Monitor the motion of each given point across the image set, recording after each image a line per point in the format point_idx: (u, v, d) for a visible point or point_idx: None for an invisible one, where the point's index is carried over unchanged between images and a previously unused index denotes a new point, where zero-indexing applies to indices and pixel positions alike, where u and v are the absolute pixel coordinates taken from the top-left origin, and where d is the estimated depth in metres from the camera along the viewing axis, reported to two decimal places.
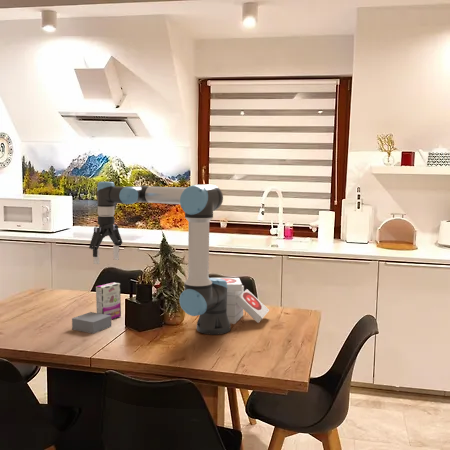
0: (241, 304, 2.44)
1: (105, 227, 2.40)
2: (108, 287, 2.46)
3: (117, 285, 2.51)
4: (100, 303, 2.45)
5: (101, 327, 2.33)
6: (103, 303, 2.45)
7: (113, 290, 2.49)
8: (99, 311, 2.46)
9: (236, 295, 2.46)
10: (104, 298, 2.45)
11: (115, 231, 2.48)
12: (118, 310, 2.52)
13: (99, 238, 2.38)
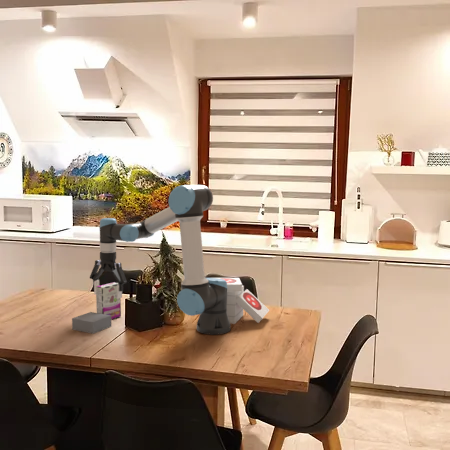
0: (241, 304, 2.44)
1: (103, 262, 2.48)
2: (108, 287, 2.46)
3: None
4: (100, 303, 2.45)
5: (101, 327, 2.33)
6: (103, 303, 2.45)
7: (113, 290, 2.49)
8: (99, 311, 2.46)
9: (236, 295, 2.46)
10: (104, 298, 2.45)
11: None
12: (118, 310, 2.52)
13: None
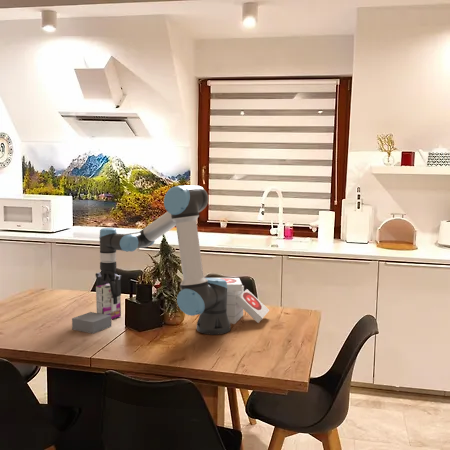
0: (241, 304, 2.44)
1: (103, 271, 2.48)
2: (108, 287, 2.46)
3: None
4: (100, 303, 2.45)
5: (101, 327, 2.33)
6: (103, 303, 2.45)
7: None
8: (99, 311, 2.46)
9: (236, 295, 2.46)
10: (104, 298, 2.45)
11: None
12: (118, 310, 2.52)
13: None
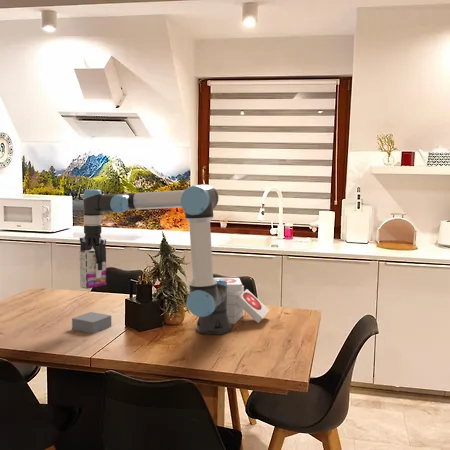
0: (241, 304, 2.44)
1: (87, 235, 2.34)
2: (93, 252, 2.31)
3: None
4: (84, 268, 2.30)
5: (101, 327, 2.33)
6: (87, 268, 2.30)
7: None
8: (83, 277, 2.31)
9: (236, 295, 2.46)
10: (88, 264, 2.30)
11: None
12: (103, 278, 2.37)
13: None
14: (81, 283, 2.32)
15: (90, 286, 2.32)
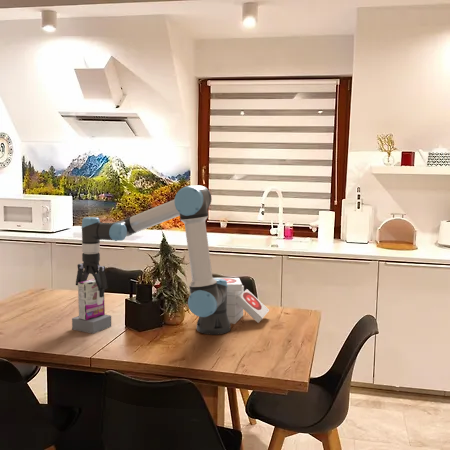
0: (241, 304, 2.44)
1: (86, 263, 2.33)
2: (91, 283, 2.31)
3: None
4: (82, 300, 2.30)
5: (101, 327, 2.33)
6: (86, 300, 2.29)
7: (96, 286, 2.34)
8: (81, 309, 2.31)
9: (236, 295, 2.46)
10: (87, 295, 2.30)
11: None
12: (101, 308, 2.37)
13: None
14: (80, 314, 2.32)
15: (89, 318, 2.32)
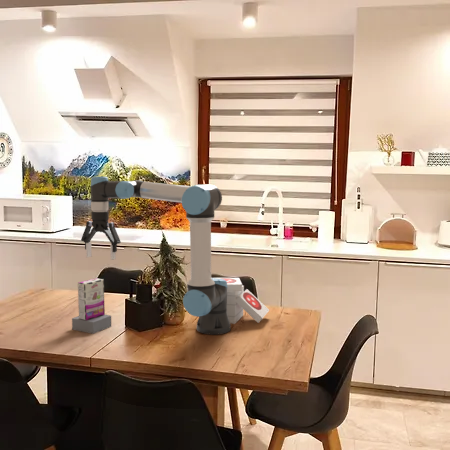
0: (241, 304, 2.44)
1: (95, 222, 2.37)
2: (91, 283, 2.31)
3: (100, 281, 2.36)
4: (82, 300, 2.30)
5: (101, 327, 2.33)
6: (85, 300, 2.29)
7: (96, 286, 2.34)
8: (81, 309, 2.31)
9: (236, 295, 2.46)
10: (87, 295, 2.30)
11: None
12: (101, 308, 2.37)
13: None
14: (80, 314, 2.32)
15: (89, 318, 2.32)
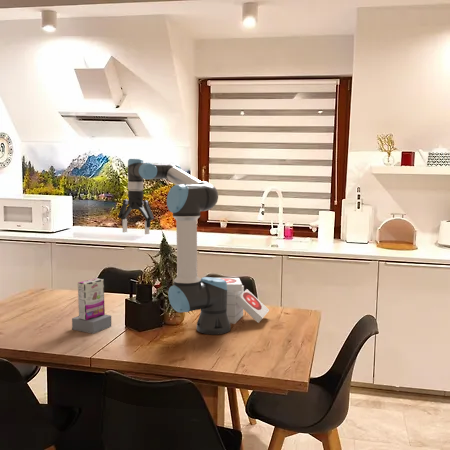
0: (241, 304, 2.44)
1: (131, 200, 2.62)
2: (91, 283, 2.31)
3: (100, 281, 2.36)
4: (82, 300, 2.30)
5: (101, 327, 2.33)
6: (85, 300, 2.29)
7: (96, 286, 2.34)
8: (81, 309, 2.31)
9: (236, 295, 2.46)
10: (87, 295, 2.30)
11: None
12: (101, 308, 2.37)
13: None
14: (80, 314, 2.32)
15: (89, 318, 2.32)
